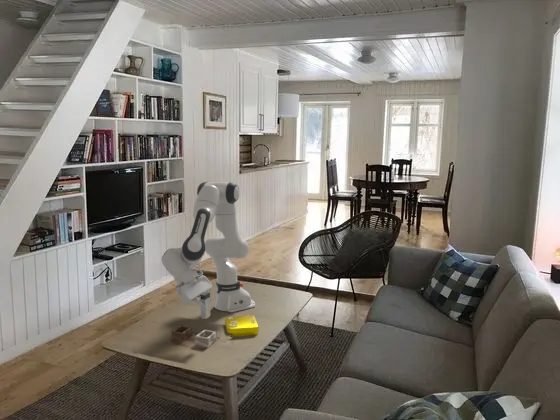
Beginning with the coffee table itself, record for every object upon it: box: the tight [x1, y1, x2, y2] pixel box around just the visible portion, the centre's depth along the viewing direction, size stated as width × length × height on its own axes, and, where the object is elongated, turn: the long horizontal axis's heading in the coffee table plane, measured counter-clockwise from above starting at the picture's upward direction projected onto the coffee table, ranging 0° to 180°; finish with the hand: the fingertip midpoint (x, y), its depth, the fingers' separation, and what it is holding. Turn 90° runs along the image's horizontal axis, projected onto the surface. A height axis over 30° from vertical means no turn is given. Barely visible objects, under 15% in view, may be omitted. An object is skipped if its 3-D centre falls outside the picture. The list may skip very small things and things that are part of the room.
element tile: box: [224, 314, 259, 338], centre depth 229 cm, size 15×15×5 cm
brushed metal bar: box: [199, 291, 211, 320], centre depth 209 cm, size 4×2×11 cm, turn 158°
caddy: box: [166, 325, 221, 351], centre depth 214 cm, size 14×20×6 cm
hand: (206, 303), depth 209 cm, fingers closed on brushed metal bar, 4 cm apart
